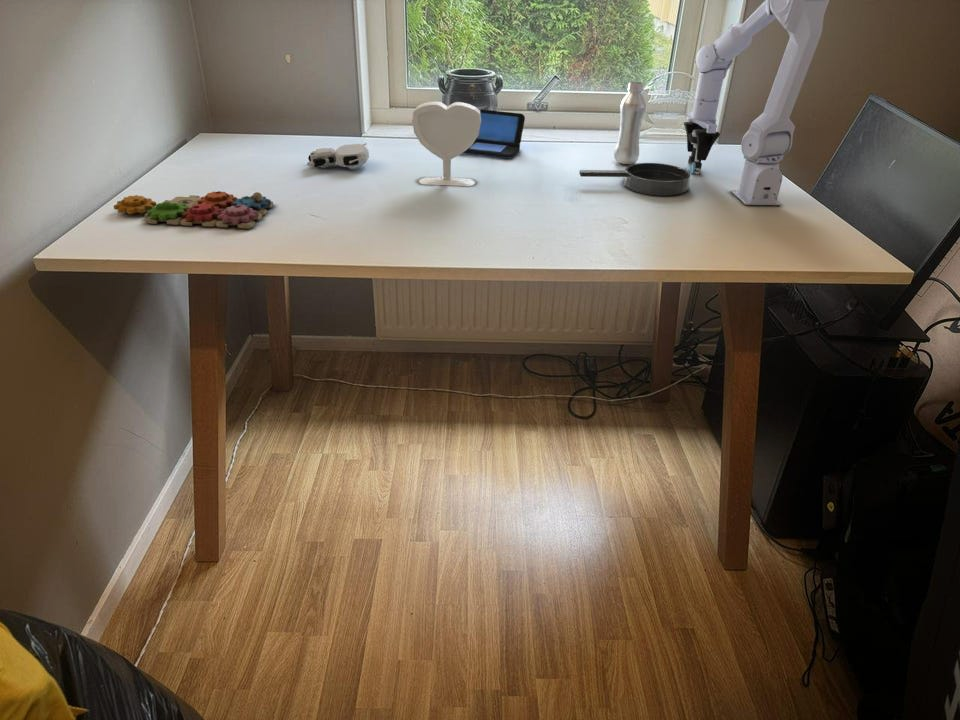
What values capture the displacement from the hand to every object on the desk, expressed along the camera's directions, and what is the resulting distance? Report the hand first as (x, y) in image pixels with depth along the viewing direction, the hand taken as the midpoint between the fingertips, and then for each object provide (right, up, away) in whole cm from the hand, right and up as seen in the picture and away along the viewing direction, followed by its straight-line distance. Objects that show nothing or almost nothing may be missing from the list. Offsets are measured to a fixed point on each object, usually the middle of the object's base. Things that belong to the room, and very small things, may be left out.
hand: (696, 155), depth 174 cm
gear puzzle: (-115, -21, -31) cm, 120 cm away
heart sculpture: (-63, -9, -9) cm, 64 cm away
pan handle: (-26, -8, -11) cm, 29 cm away
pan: (-13, -10, -9) cm, 18 cm away
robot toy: (-90, -3, 0) cm, 90 cm away
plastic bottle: (-16, 0, +7) cm, 18 cm away
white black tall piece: (0, -4, +2) cm, 4 cm away
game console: (-52, +6, +15) cm, 54 cm away
